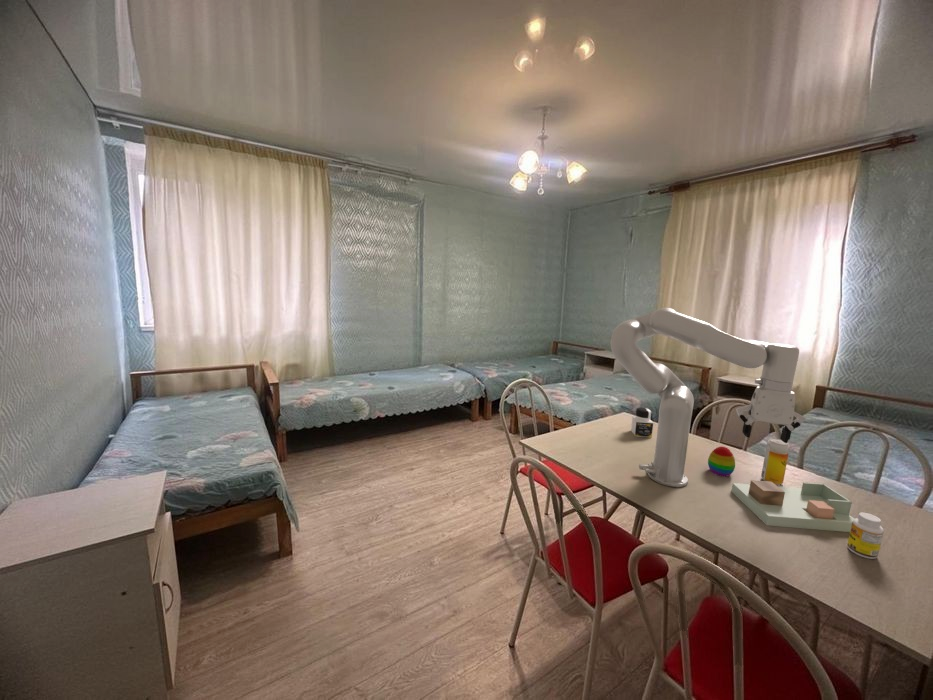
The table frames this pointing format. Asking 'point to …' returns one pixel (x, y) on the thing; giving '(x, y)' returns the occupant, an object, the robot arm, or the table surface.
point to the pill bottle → (775, 461)
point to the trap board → (800, 507)
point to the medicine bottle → (642, 423)
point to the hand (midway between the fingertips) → (764, 438)
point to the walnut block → (766, 493)
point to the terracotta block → (819, 509)
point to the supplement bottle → (866, 536)
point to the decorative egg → (721, 461)
